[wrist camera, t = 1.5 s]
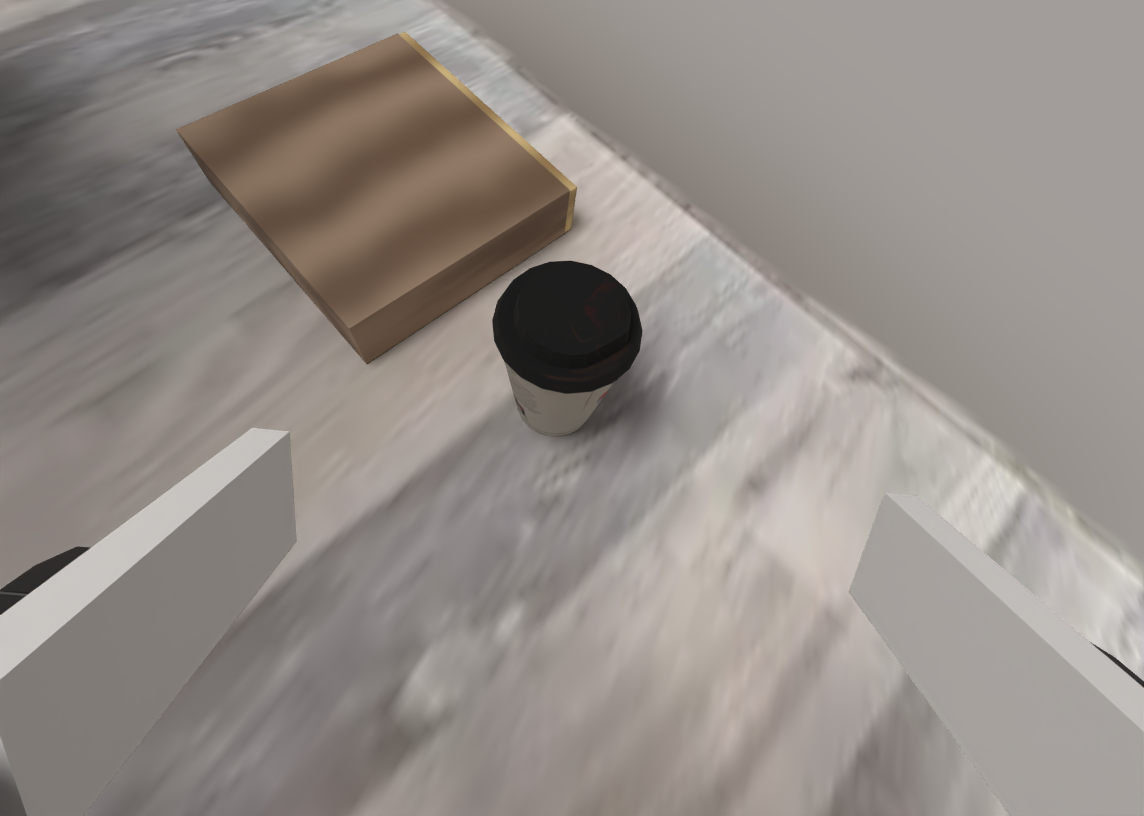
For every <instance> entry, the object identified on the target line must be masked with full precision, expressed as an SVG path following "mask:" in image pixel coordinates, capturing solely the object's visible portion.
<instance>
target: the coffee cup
mask: <svg viewBox="0 0 1144 816" xmlns="http://www.w3.org/2000/svg"><path fill="white" fill-rule="evenodd" d="M492 322H493V332H494V341H495V343H496V346H497V348H498V350H499V352H500V354H501V356H502V358H503V360H504V361H505V364H506V368H507V372H508V375H509V379H510V383H511V386H512V390H513V394H514V398H515V401H516V405H517V409H518V411H519V413H520V415H521V417H522V419H523V421H524V422H525V423H526V424H527V425H528V426H529V427H530V428H531V429H533V430H535V431H537V432H539V433H541V434H544V435H549V436H562V435H567V434H570V433H572V432H574V431H577V430H578V429H579V428H580V427H581V426H582V425H584V424H585V423H586V421H587V420H588V418H589V417H590V416H591V414H592V413H593V411H594V410H595V409H596V407H597V406H598V404H599V403H600V402H601V400H602V399H603V397H604V396H605V394H606V393H607V392H608V390H609V389H610V387H611V386H612V385H613V383H614V382H615V381H616V380H617V379H618V378H619V377H620V376H622V375H623V374H624V373H625V372H626V371H627V370H629V369H630V367H631V365H632V363H633V361H634V360H635V358H636V356H637V354H638V352H639V351H640V344H641V337H642V327H641V322H640V318H639V313H638V310H637V307H636V305H635V303H634V301H633V300H632V298H631V296H630V295H629V293H628V291H627V290H626V288H625V287H624V286H623V285H622V284H620V283H619V282H618V281H617V280H616V279H615V278H614V277H613V276H611V275H610V274H608V273H606V272H604V271H602V270H600V269H598V268H596V267H594V266H592V265H588V264H584V263H579V262H574V261H557V262H548V263H545V264H542V265H539V266H536V267H532V268H530V269H528V270H527V271H526V272H524V273H523V274H521V275H520V276H518V277H517V278H516V279H514V280H513V281H512V282H511V284H510V285H509V286H508V287H507V289H506V290H505V292H504V293H503V294H502V296H501V297H500V298H499V300H498V302H497V305H496V309H495V313H494V316H493V320H492Z"/></svg>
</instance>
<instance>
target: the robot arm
mask: <svg viewBox="0 0 1144 816" xmlns="http://www.w3.org/2000/svg"><path fill="white" fill-rule="evenodd" d="M296 541H297V540H296V525H295V509H294V494H293V479H292V463H291V448H290V432H289V431H280V430H270V429H260V428H251V429H250V430H249V431H247V432H246V433H245V434H243V435H242V436H241V437H239V438H238V439H237V440H235V441H234V442H233V443H231V444H230V445H229V446H227V447H226V448H224V449H223V450H222V451H220V452H219V453H218V454H216V455H215V456H214V457H212V458H211V459H210V460H208V461H207V462H206V463H204V464H203V465H202V466H200V467H199V468H198V469H196V470H195V471H194V472H192V473H191V474H190V475H188V476H187V477H185V478H184V479H183V480H181V481H180V482H179V483H177V484H176V485H175V486H173V487H172V488H171V489H169V490H168V491H167V492H165V493H164V494H163V495H161V496H160V497H159V498H157V499H156V500H155V501H153V502H152V503H151V504H149V505H148V506H147V507H145V508H144V509H142V510H141V511H140V512H138V513H137V514H136V515H134V516H133V517H132V518H130V519H129V520H128V521H126V522H125V523H124V524H122V525H121V526H120V527H118V528H117V529H116V530H114V531H113V532H112V533H110V534H109V535H108V536H106V537H105V538H103V539H102V540H101V541H99V542H98V543H97V544H95V545H94V546H93V547H91V548H88V547H75V548H73V549H71V550H69V551H66V552H64V553H62V554H60V555H57V556H55V557H53V558H51V559H48V560H46V561H44V562H42V563H39V564H37V565H35V566H33V567H32V568H31V569H29V570H28V571H26V572H25V573H23V574H22V575H21V576H19V577H18V578H16V579H15V580H13V581H12V582H11V583H9V584H8V585H6V586H5V587H3V588H2V589H1V590H0V816H84V815H85V814H86V812H87V811H88V810H89V809H90V807H91V806H92V805H93V803H94V802H95V801H96V800H97V798H98V797H99V796H100V794H101V793H102V792H103V790H104V789H105V788H106V787H107V785H108V784H109V783H110V781H111V780H112V779H113V778H114V776H115V775H116V774H117V772H118V771H119V770H120V769H121V767H122V766H123V765H124V763H125V762H126V761H127V759H128V758H129V757H130V756H131V754H132V753H133V752H134V750H135V749H136V748H137V747H138V745H139V744H140V743H141V741H142V740H143V739H144V738H145V736H146V735H147V734H148V732H149V731H150V730H151V729H152V727H153V726H154V725H155V723H156V722H157V721H158V719H159V718H160V717H161V716H162V714H163V713H164V712H165V710H166V709H167V708H168V707H169V705H170V704H171V703H172V701H173V700H174V699H175V698H176V696H177V695H178V694H179V692H180V691H181V690H182V688H183V687H184V686H185V685H186V683H187V682H188V681H189V679H190V678H191V677H192V676H193V674H194V673H195V672H196V670H197V669H198V668H199V667H200V665H201V664H202V663H203V661H204V660H205V659H206V657H207V656H208V655H209V654H210V652H211V651H212V650H213V648H214V647H215V646H216V645H217V643H218V642H219V641H220V639H221V638H222V637H223V636H224V634H225V633H226V632H227V630H228V629H229V628H230V627H231V625H232V624H233V623H234V621H235V620H236V619H237V617H238V616H239V615H240V614H241V612H242V611H243V610H244V608H245V607H246V606H247V605H248V603H249V602H250V601H251V599H252V598H253V597H254V596H255V594H256V593H257V592H258V590H259V589H260V588H261V586H262V585H263V584H264V583H265V581H266V580H267V579H268V577H269V576H270V575H271V574H272V572H273V571H274V570H275V568H276V567H277V566H278V565H279V563H280V562H281V561H282V559H283V558H284V557H285V556H286V554H287V553H288V552H289V550H290V549H291V548H292V546H293V545H294V544H295V543H296ZM849 593H850V595H851V596H852V597H853V599H854V600H855V602H856V603H857V604H858V606H859V607H860V608H861V610H862V611H863V613H864V614H865V615H866V617H867V618H868V620H869V621H870V622H871V624H872V625H873V627H874V628H875V629H876V631H877V632H878V633H879V635H880V636H881V638H882V639H883V640H884V642H885V643H886V645H887V646H888V647H889V649H890V650H891V652H892V653H893V654H894V656H895V657H896V659H897V660H898V661H899V663H900V664H901V665H902V667H903V668H904V670H905V671H906V672H907V674H908V675H909V677H910V678H911V679H912V681H913V682H914V684H915V685H916V686H917V688H918V689H919V690H920V692H921V693H922V695H923V696H924V697H925V699H926V700H927V702H928V703H929V704H930V706H931V707H932V709H933V710H934V711H935V713H936V714H937V716H938V717H939V718H940V720H941V721H942V722H943V724H944V725H945V727H946V728H947V729H948V731H949V732H950V734H951V735H952V736H953V738H954V739H955V741H956V742H957V743H958V745H959V746H960V747H961V749H962V750H963V752H964V753H965V754H966V756H967V757H968V759H969V760H970V761H971V763H972V764H973V766H974V767H975V768H976V770H977V771H978V773H979V774H980V775H981V777H982V778H983V779H984V781H985V782H986V784H987V785H988V786H989V788H990V789H991V791H992V792H993V793H994V795H995V796H996V798H997V799H998V800H999V802H1000V803H1001V804H1002V806H1003V807H1004V809H1005V810H1006V811H1007V813H1008V814H1009V816H1144V681H1142V680H1141V679H1140V678H1139V677H1138V676H1137V675H1135V674H1134V673H1133V672H1132V671H1131V670H1129V669H1128V668H1127V667H1126V666H1125V665H1123V664H1122V663H1121V662H1120V661H1119V660H1117V659H1116V658H1115V657H1113V656H1112V655H1110V654H1108V653H1107V652H1105V651H1104V650H1102V649H1100V648H1099V647H1097V646H1096V645H1094V644H1092V643H1091V642H1089V641H1088V640H1087V639H1086V638H1084V637H1083V636H1082V635H1081V634H1080V633H1078V632H1077V631H1076V630H1075V629H1074V628H1073V627H1071V626H1070V625H1069V624H1068V623H1067V622H1066V621H1064V620H1063V619H1062V618H1061V617H1060V616H1058V615H1057V614H1056V613H1055V612H1054V611H1053V610H1051V609H1050V608H1049V607H1048V606H1047V605H1045V604H1044V603H1043V602H1042V601H1041V600H1040V599H1038V598H1037V597H1036V596H1035V595H1034V594H1032V593H1031V592H1030V591H1029V590H1028V589H1027V588H1025V587H1024V586H1023V585H1022V584H1021V583H1020V582H1018V581H1017V580H1016V579H1015V578H1014V577H1012V576H1011V575H1010V574H1009V573H1008V572H1007V571H1005V570H1004V569H1003V568H1002V567H1001V566H999V565H998V564H997V563H996V562H995V561H994V560H992V559H991V558H990V557H989V556H988V555H987V554H985V553H984V552H983V551H982V550H981V549H979V548H978V547H977V546H976V545H975V544H974V543H972V542H971V541H970V540H969V539H968V538H966V537H965V536H964V535H963V534H962V533H961V532H959V531H958V530H957V529H956V528H955V527H953V526H952V525H951V524H950V523H949V522H948V521H946V520H945V519H944V518H943V517H942V516H941V515H939V514H938V513H937V512H936V511H935V510H933V509H932V508H931V507H930V506H929V505H928V504H926V503H925V502H924V501H923V500H922V499H920V498H919V497H918V496H915V495H905V494H895V493H886V492H885V493H884V495H883V498H882V501H881V504H880V506H879V509H878V512H877V515H876V518H875V520H874V523H873V526H872V529H871V531H870V534H869V537H868V540H867V542H866V545H865V548H864V551H863V553H862V556H861V559H860V562H859V564H858V567H857V570H856V573H855V575H854V578H853V581H852V584H851V587H850V589H849Z"/></svg>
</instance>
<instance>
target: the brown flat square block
mask: <svg viewBox="0 0 1144 816" xmlns="http://www.w3.org/2000/svg"><path fill="white" fill-rule="evenodd" d="M176 130H177V132H178V133H179V135H180V136H181V138H182V140H183V141H184V143H185V144H186V146H187V147H188V149H189V150H190V152H191V154H192V155H193V157H194V158H195V160H196V161H197V163H198V165H199V166H200V168H201V169H202V171H203V172H204V174H205V175H206V177H207V179H208V180H209V181H210V183H211V184H212V185H213V186H214V187H215V188H216V189H217V191H218V192H219V193H220V194H221V195H222V196H223V198H224V199H225V200H226V201H227V202H228V203H229V205H230V206H231V207H232V208H233V209H234V210H235V212H236V213H237V214H238V215H239V216H240V217H241V219H242V220H243V221H244V222H245V223H246V224H247V225H248V227H249V228H250V229H251V230H252V231H253V232H254V234H255V235H256V236H257V237H258V238H259V239H260V241H261V242H262V243H263V244H264V245H265V246H266V248H267V249H268V250H269V251H270V252H271V253H272V254H273V256H274V257H275V258H276V259H277V260H278V261H279V263H280V264H281V265H282V266H283V267H284V268H285V270H286V271H287V272H288V273H289V274H290V275H291V277H292V278H293V279H294V280H295V281H296V282H297V284H298V285H299V286H300V287H301V288H302V289H303V290H304V292H305V293H306V294H307V295H308V296H309V297H310V299H311V300H312V301H313V302H314V303H315V304H316V306H317V307H318V308H319V309H320V310H321V311H322V313H323V314H324V315H325V316H326V317H327V318H328V319H329V321H330V322H331V323H332V324H333V325H334V326H335V328H336V329H337V330H338V331H339V332H340V333H341V335H342V336H343V337H344V338H345V339H346V340H347V342H348V343H349V344H350V345H351V346H352V347H353V349H354V350H355V351H356V352H357V353H358V354H359V355H360V357H361V358H362V359H363V360H364V361H365V362H366V364H368V363H369V362H371V361H372V360H374V359H375V358H377V357H378V356H380V355H381V354H383V353H384V352H386V351H387V350H389V349H390V348H392V347H393V346H395V345H396V344H398V343H400V342H401V341H403V340H404V339H406V338H407V337H409V336H410V335H412V334H413V333H415V332H416V331H418V330H419V329H421V328H422V327H424V326H425V325H427V324H428V323H430V322H431V321H433V320H434V319H436V318H437V317H439V316H440V315H442V314H444V313H445V312H447V311H448V310H450V309H451V308H453V307H454V306H456V305H457V304H459V303H460V302H462V301H463V300H465V299H466V298H468V297H469V296H471V295H472V294H474V293H475V292H477V291H478V290H480V289H481V288H483V287H484V286H486V285H488V284H489V283H491V282H492V281H494V280H495V279H497V278H498V277H500V276H501V275H503V274H504V273H506V272H507V271H509V270H510V269H512V268H513V267H515V266H516V265H518V264H519V263H521V262H522V261H524V260H525V259H527V258H528V257H530V256H532V255H533V254H535V253H536V252H538V251H539V250H541V249H542V248H544V247H545V246H547V245H548V244H550V243H551V242H553V241H554V240H556V239H557V238H559V237H560V236H562V235H563V234H565V232H567V231H568V230H570V229H571V225H572V218H573V211H574V204H575V198H576V191H577V187H576V186H575V185H574V184H573V183H572V182H571V181H570V180H569V179H567V178H566V177H565V176H564V175H563V174H562V173H561V172H560V171H559V170H558V169H556V168H555V167H554V166H553V165H552V164H551V163H550V162H549V161H548V160H546V159H545V158H544V157H543V156H542V155H541V154H540V153H539V152H538V151H536V150H535V149H534V148H533V147H532V146H531V145H530V144H529V143H528V142H526V141H525V140H524V139H523V138H522V137H521V136H520V135H519V134H518V133H517V132H515V131H514V130H513V129H512V128H511V127H510V126H509V125H508V124H507V123H505V122H504V121H503V120H502V119H501V118H500V117H499V116H498V115H497V114H495V113H494V112H493V111H492V110H491V109H490V108H489V107H488V106H487V105H486V104H484V103H483V102H482V101H481V100H480V99H479V98H478V97H477V96H476V95H474V94H473V93H472V92H471V91H470V90H469V89H468V88H467V87H466V86H464V85H463V84H462V83H461V82H460V81H459V80H458V79H457V78H456V77H455V76H453V75H452V74H451V73H450V72H449V71H448V70H447V69H446V68H445V67H443V66H442V65H441V64H440V63H439V62H438V61H437V60H436V59H435V58H433V57H432V56H431V55H430V54H429V53H428V52H427V51H426V50H425V49H423V48H422V47H421V46H420V45H419V44H418V43H417V42H416V41H415V40H414V39H412V38H411V37H410V36H409V35H408V34H407V33H406V32H404V33H401V34H395V35H393V36H391V37H389V38H386V39H384V40H382V41H379V42H377V43H375V44H372V45H370V46H368V47H365V48H363V49H361V50H359V51H356V52H354V53H352V54H349V55H347V56H345V57H342V58H340V59H338V60H335V61H333V62H331V63H329V64H326V65H324V66H322V67H319V68H317V69H315V70H312V71H310V72H308V73H305V74H303V75H301V76H299V77H296V78H294V79H292V80H289V81H287V82H285V83H282V84H280V85H278V86H276V87H273V88H271V89H269V90H266V91H264V92H262V93H259V94H257V95H255V96H252V97H250V98H248V99H246V100H243V101H241V102H239V103H236V104H234V105H232V106H229V107H227V108H225V109H222V110H220V111H218V112H216V113H213V114H211V115H209V116H206V117H204V118H202V119H199V120H197V121H195V122H192V123H190V124H188V125H186V126H183V127H181V128H179V129H176Z"/></svg>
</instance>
